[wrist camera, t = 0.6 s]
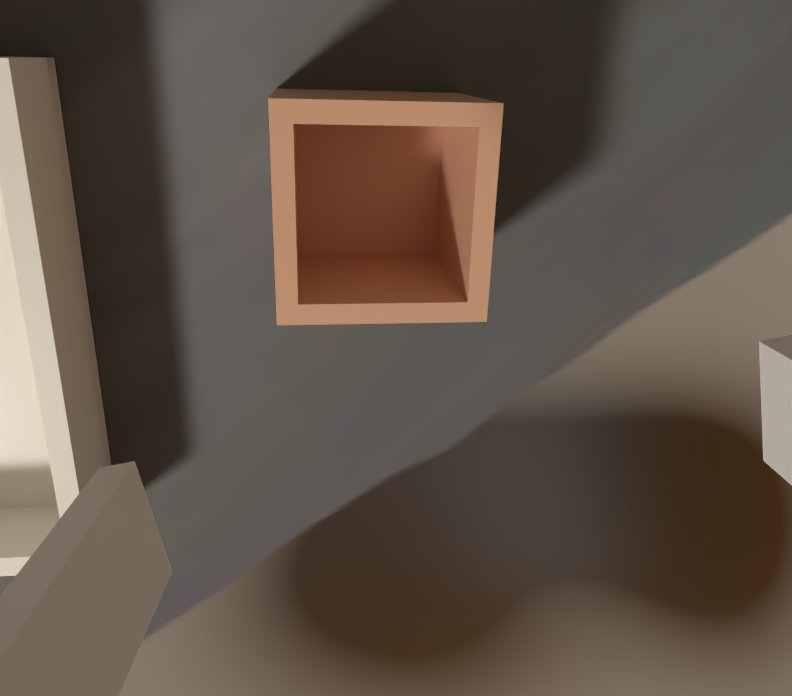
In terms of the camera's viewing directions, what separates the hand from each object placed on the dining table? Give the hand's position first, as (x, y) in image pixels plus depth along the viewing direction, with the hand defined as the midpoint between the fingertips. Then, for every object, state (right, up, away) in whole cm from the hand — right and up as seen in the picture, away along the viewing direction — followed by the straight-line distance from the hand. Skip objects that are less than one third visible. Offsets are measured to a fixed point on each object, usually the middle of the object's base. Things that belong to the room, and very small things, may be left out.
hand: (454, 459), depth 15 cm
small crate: (-3, +10, +18) cm, 21 cm away
